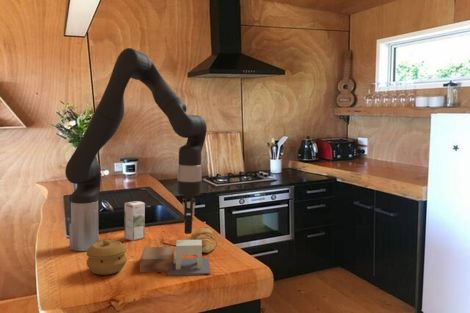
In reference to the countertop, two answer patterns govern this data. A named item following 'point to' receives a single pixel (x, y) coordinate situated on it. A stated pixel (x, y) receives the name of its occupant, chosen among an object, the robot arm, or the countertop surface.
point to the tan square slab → (157, 259)
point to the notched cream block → (189, 251)
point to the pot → (106, 257)
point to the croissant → (205, 239)
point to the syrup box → (134, 220)
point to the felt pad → (190, 267)
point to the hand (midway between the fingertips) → (188, 229)
